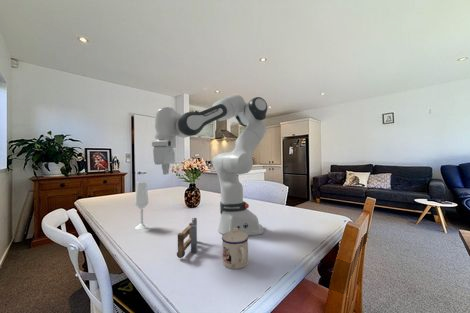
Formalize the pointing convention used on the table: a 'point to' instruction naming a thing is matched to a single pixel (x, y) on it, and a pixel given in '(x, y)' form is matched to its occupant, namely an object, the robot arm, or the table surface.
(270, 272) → the table surface
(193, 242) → the posts
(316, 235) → the table surface
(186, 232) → the gate
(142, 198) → the champagne flute
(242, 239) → the teacup with lid
